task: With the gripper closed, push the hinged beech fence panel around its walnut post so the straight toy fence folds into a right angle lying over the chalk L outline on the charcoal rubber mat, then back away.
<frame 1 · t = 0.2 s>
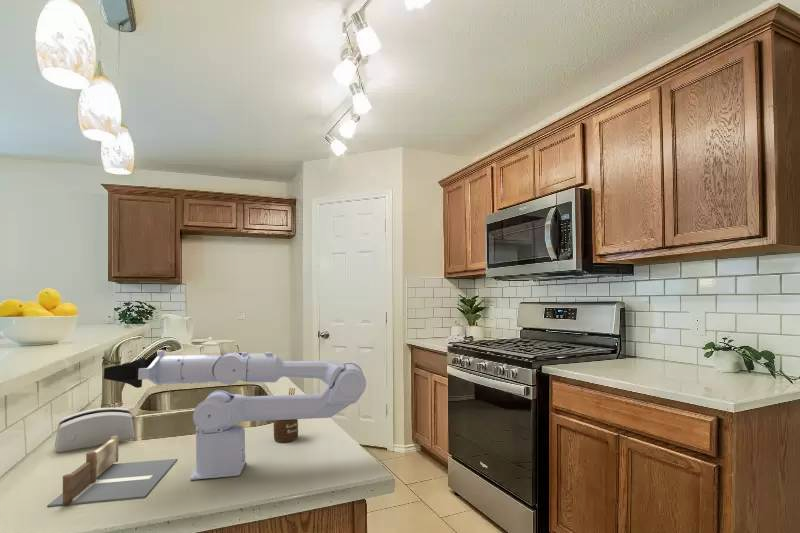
hand: (113, 371, 94), 22 cm above the counter, tool horizontal, fingers open, 7 cm apart
layout mat: (119, 480, 93), on the counter
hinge: (95, 445, 116), on the counter
utensil holder: (286, 439, 116), on the counter
fence panel: (105, 455, 98), point 3 cm above the counter, hinge at 0.0°
fence post and rail: (90, 484, 91), resting on layout mat
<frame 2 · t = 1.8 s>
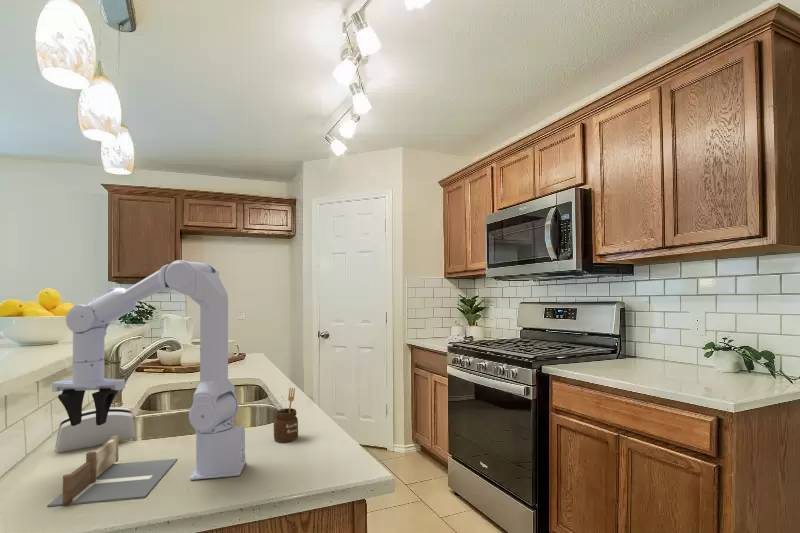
hand: (88, 424, 100), 9 cm above the counter, tool pointing down, fingers open, 5 cm apart
nothing on the counter moved.
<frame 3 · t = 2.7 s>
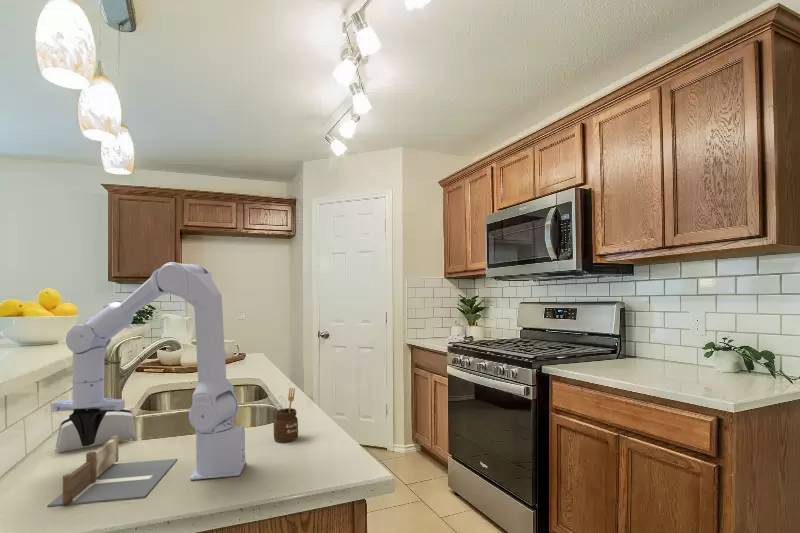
hand: (88, 444, 100), 5 cm above the counter, tool pointing down, fingers closed
nothing on the counter moved.
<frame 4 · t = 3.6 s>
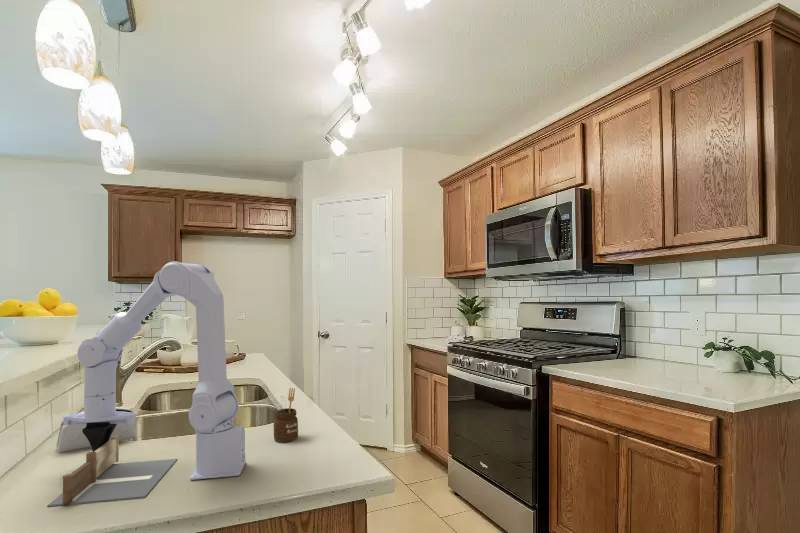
hand: (99, 458, 100), 2 cm above the counter, tool pointing down, fingers closed
fence panel: (105, 455, 98), point 3 cm above the counter, hinge at 0.2°, touching gripper
everything else where it was.
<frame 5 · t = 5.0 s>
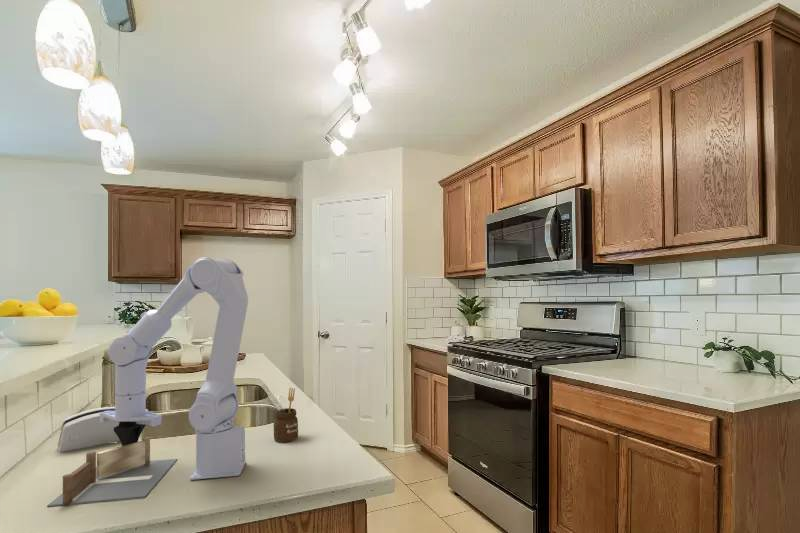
hand: (130, 457, 99), 2 cm above the counter, tool pointing down, fingers closed, pressing on fence panel
fence panel: (124, 457, 97), point 3 cm above the counter, hinge at 45.6°, touching gripper
everything else where it was.
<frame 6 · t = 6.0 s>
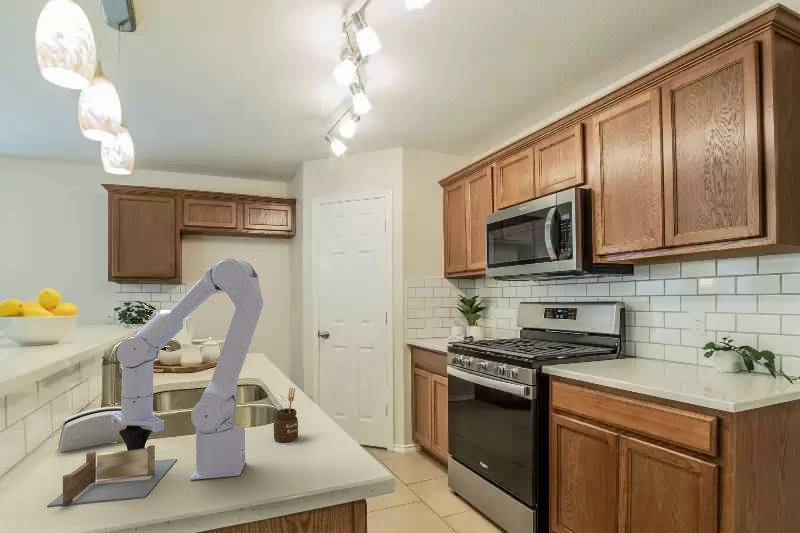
hand: (136, 462, 96), 2 cm above the counter, tool pointing down, fingers closed, pressing on fence panel
fence panel: (126, 462, 93), point 3 cm above the counter, hinge at 82.9°, touching gripper
everything else where it was.
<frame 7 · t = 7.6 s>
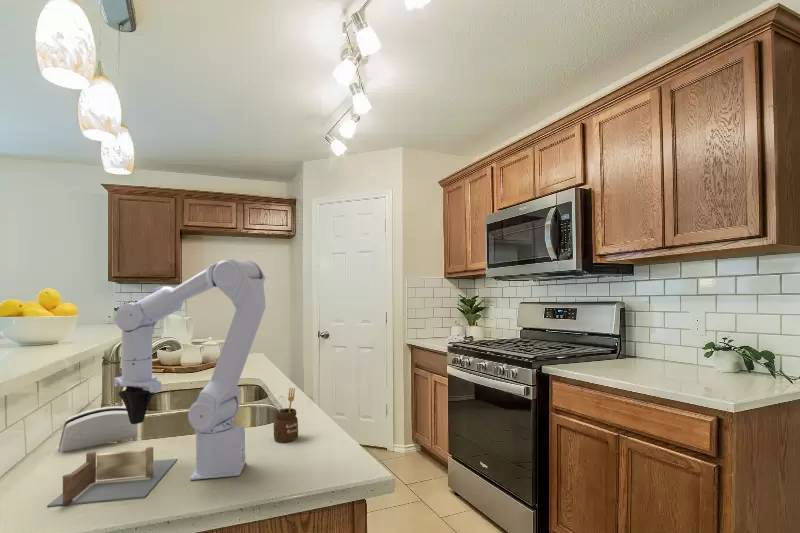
hand: (137, 422, 100), 9 cm above the counter, tool pointing down, fingers closed
fence panel: (125, 463, 93), point 3 cm above the counter, hinge at 88.5°
everything else where it was.
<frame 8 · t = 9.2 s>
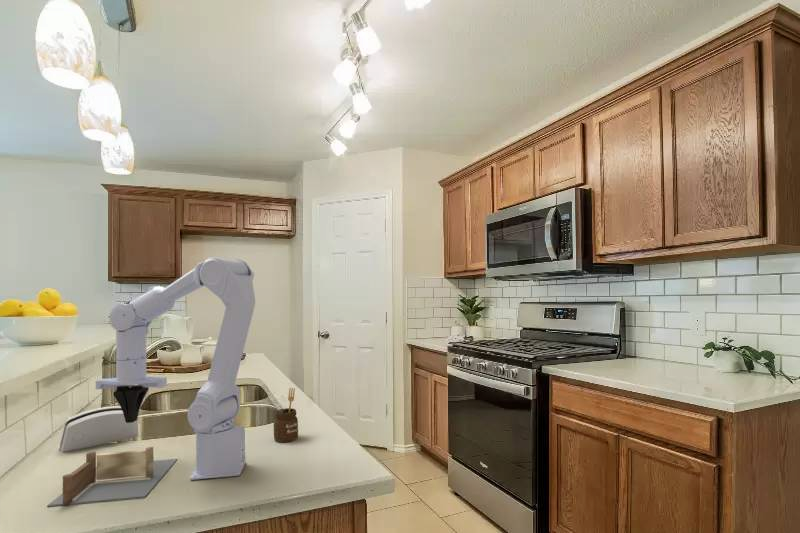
hand: (131, 421, 101), 9 cm above the counter, tool pointing down, fingers closed
at the end: fence panel at +88° (first picture: +0°); fence panel 0.0 cm from the target spot, resting on layout mat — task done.
